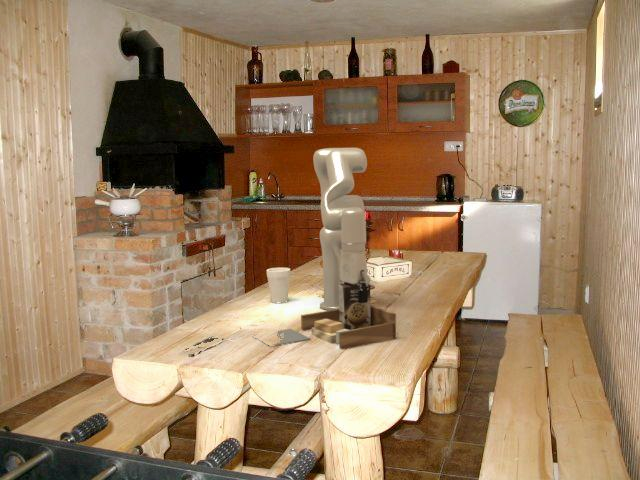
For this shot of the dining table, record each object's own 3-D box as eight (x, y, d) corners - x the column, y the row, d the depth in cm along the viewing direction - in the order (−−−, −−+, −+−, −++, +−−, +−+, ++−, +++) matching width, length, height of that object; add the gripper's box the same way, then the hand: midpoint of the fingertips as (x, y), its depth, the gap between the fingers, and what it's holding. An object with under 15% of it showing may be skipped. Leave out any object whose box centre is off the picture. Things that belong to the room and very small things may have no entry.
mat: (252, 336, 212) (252, 335, 212) (290, 329, 218) (290, 328, 218) (270, 347, 199) (270, 345, 199) (310, 339, 206) (310, 338, 206)
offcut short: (314, 329, 210) (314, 321, 209) (326, 326, 213) (325, 318, 212) (331, 333, 204) (330, 326, 203) (342, 330, 207) (342, 322, 206)
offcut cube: (336, 344, 201) (335, 331, 201) (344, 341, 204) (344, 328, 203) (345, 346, 198) (345, 333, 198) (354, 343, 201) (354, 330, 201)
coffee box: (344, 336, 209) (343, 287, 206) (338, 331, 215) (337, 283, 213) (371, 333, 211) (370, 284, 209) (365, 328, 217) (364, 281, 215)
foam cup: (264, 300, 263) (263, 269, 261) (285, 298, 266) (284, 266, 265) (273, 305, 254) (271, 272, 252) (294, 302, 258) (293, 270, 256)
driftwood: (215, 337, 213) (215, 331, 213) (232, 340, 210) (232, 333, 210) (175, 357, 195) (174, 350, 195) (193, 359, 192) (192, 353, 192)
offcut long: (311, 336, 212) (311, 327, 211) (327, 333, 215) (327, 324, 214) (331, 345, 202) (331, 336, 201) (347, 342, 205) (347, 332, 204)
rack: (301, 329, 218) (300, 306, 217) (352, 320, 228) (351, 298, 226) (341, 349, 195) (340, 323, 194) (395, 338, 205) (395, 313, 204)
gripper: (329, 246, 215) (331, 297, 217) (358, 251, 200) (359, 306, 202) (349, 244, 218) (350, 294, 220) (378, 249, 203) (379, 303, 205)
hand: (354, 300), depth 211 cm, fingers open, 9 cm apart
